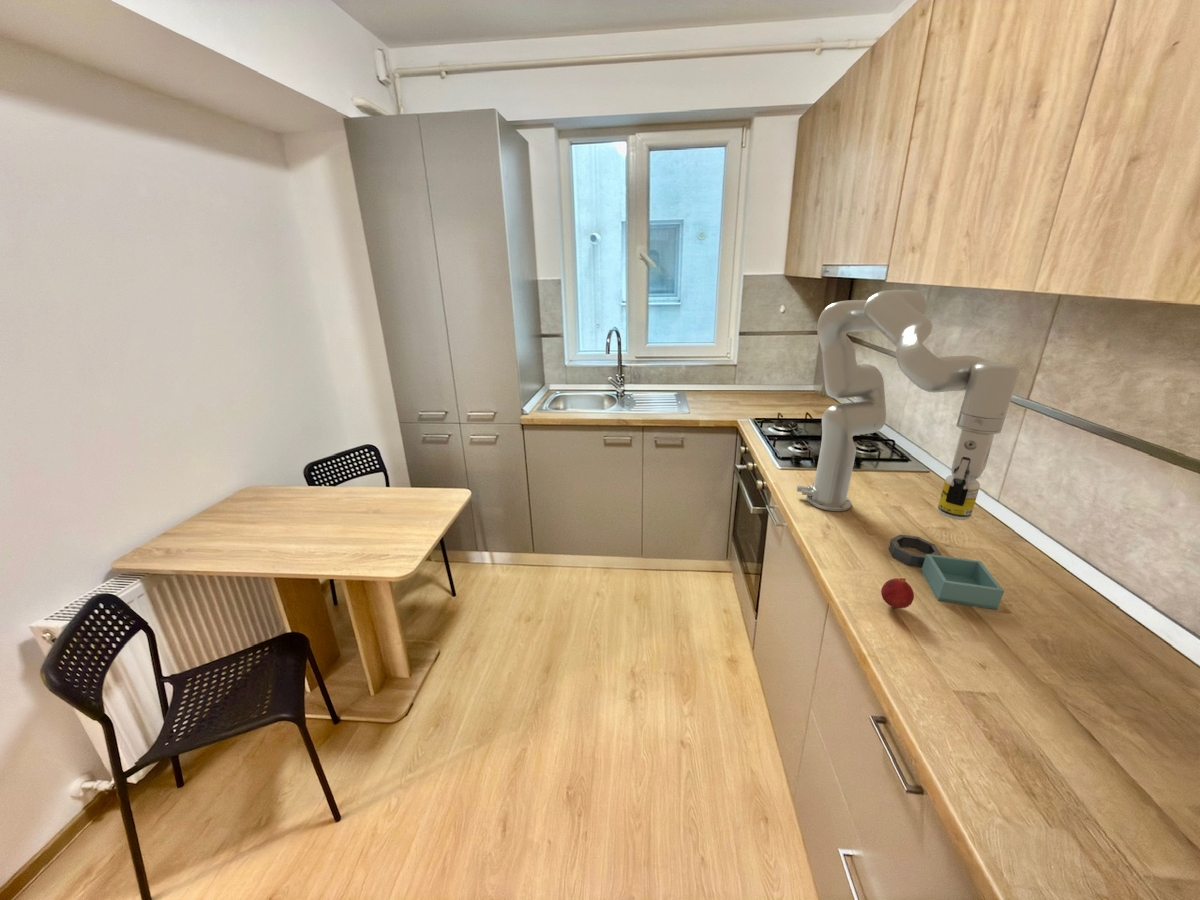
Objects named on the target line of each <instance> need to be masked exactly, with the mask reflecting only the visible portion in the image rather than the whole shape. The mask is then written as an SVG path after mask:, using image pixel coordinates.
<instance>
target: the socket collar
mask: <svg viewBox="0 0 1200 900" xmlns="http://www.w3.org/2000/svg"><path fill="white" fill-rule="evenodd" d="M905 548H906V549H905ZM907 549H914V550H917V551H918V552H921V553H923V554H921V553H919V554H918V553H913V552H911V551H909V550H907ZM887 550H888V551H889V553H890V555H891V558H893V559H895V560H897V561H898V562H900V563H902V564H904V565H906V566H908V567H912V568H920V569H922V567H923V563H924V560H925V557H926V554H932V555H939V556H942V552H941V551H940V550H939V548H938V547H937V545H936V544H935V543H933V542H931V541H929V540H926V539H924V538H922V537H919V536H915V535H909V534H902V533H901V534H898V535H896V536H894V537H891V538H890V541H889V545H888V549H887Z"/></svg>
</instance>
